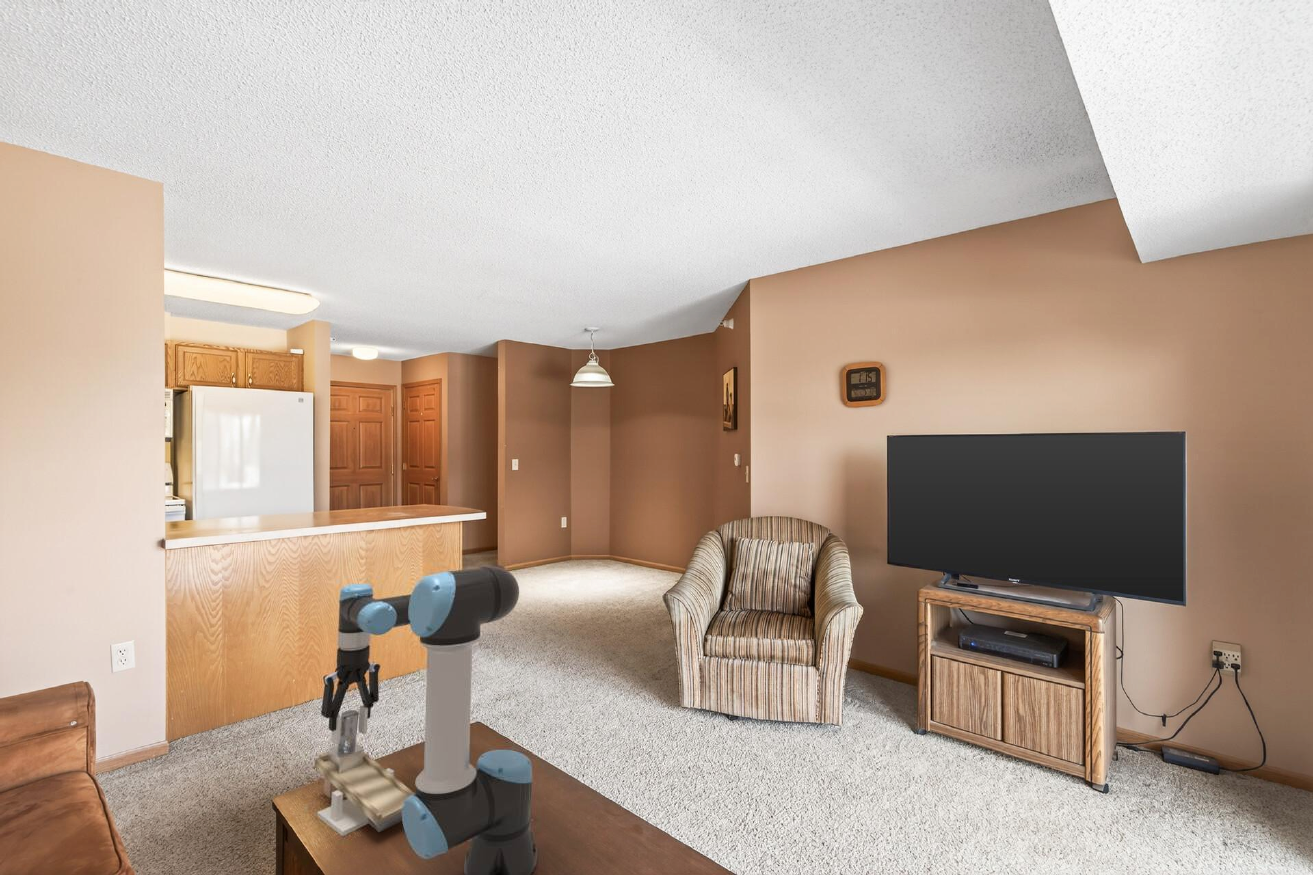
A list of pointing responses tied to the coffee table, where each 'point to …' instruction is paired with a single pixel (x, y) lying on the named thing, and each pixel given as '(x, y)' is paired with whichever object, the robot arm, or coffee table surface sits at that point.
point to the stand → (342, 811)
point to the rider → (346, 745)
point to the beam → (369, 790)
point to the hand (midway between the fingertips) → (349, 736)
